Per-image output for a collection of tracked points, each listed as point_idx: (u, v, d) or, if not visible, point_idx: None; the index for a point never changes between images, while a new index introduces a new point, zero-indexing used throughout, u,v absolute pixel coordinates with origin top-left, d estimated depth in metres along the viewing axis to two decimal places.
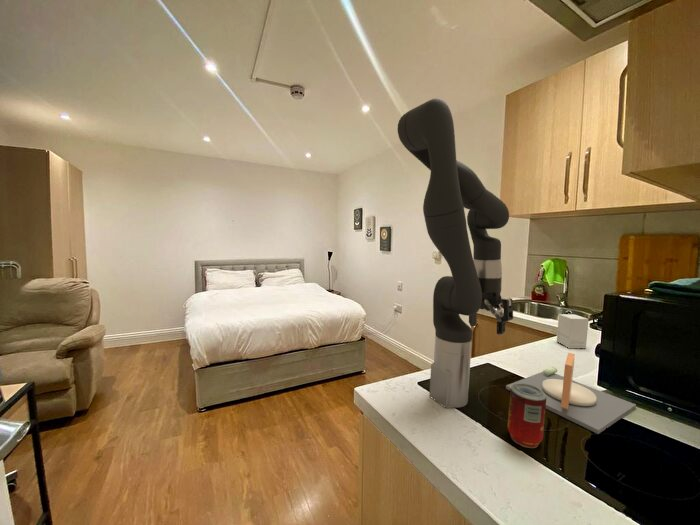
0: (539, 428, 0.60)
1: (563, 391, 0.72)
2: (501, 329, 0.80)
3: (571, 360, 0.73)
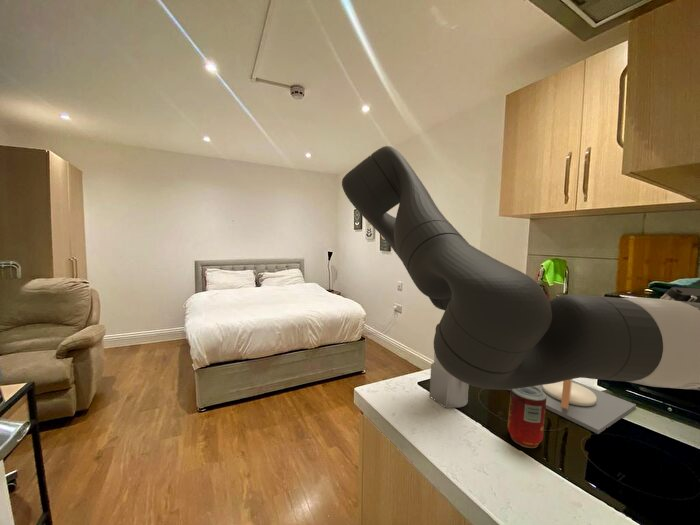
0: (539, 428, 0.60)
1: (563, 391, 0.72)
2: None
3: None
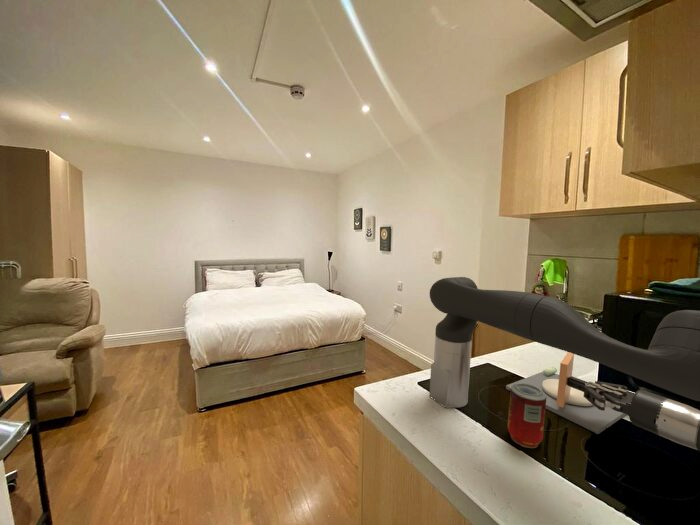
0: (539, 428, 0.60)
1: (558, 390, 0.72)
2: (574, 381, 0.71)
3: (568, 359, 0.74)
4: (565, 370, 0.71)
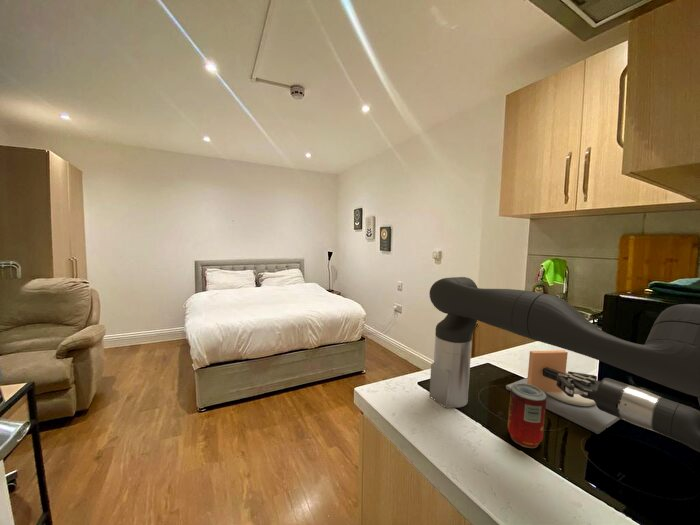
0: (539, 428, 0.60)
1: (528, 375, 0.79)
2: (548, 372, 0.76)
3: (546, 352, 0.78)
4: (532, 358, 0.78)
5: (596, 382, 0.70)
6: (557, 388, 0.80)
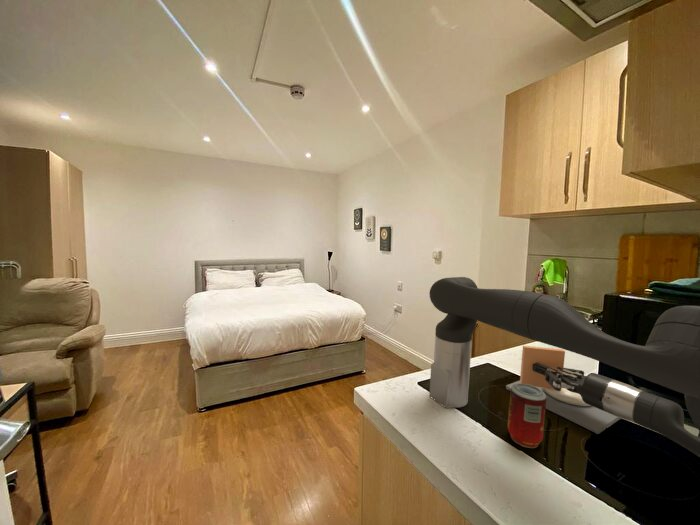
0: (539, 428, 0.60)
1: (521, 369, 0.83)
2: (538, 367, 0.79)
3: (540, 348, 0.81)
4: (523, 352, 0.82)
5: (583, 377, 0.73)
6: None
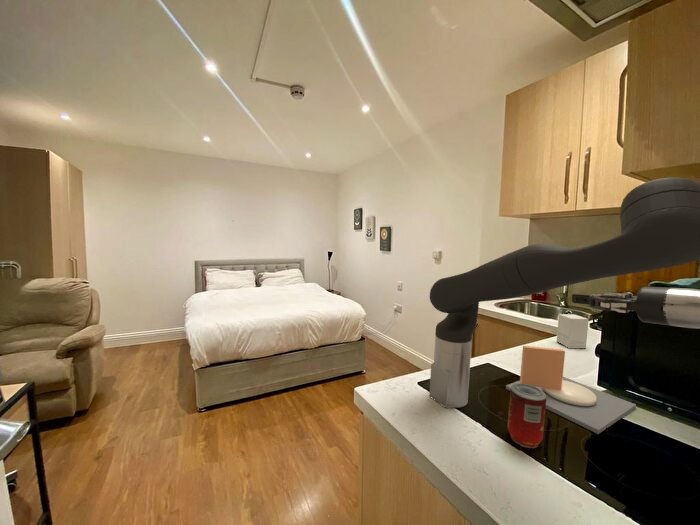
0: (539, 428, 0.60)
1: (521, 369, 0.83)
2: (578, 296, 0.71)
3: (540, 348, 0.81)
4: (523, 352, 0.82)
5: (633, 296, 0.64)
6: (553, 385, 0.81)
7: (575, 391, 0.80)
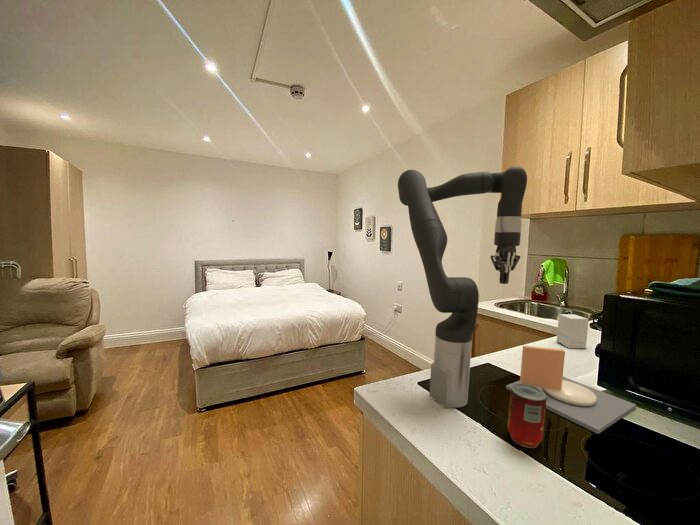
0: (539, 428, 0.60)
1: (521, 369, 0.83)
2: None
3: (540, 348, 0.81)
4: (523, 352, 0.82)
5: None
6: (553, 385, 0.81)
7: (575, 391, 0.80)
